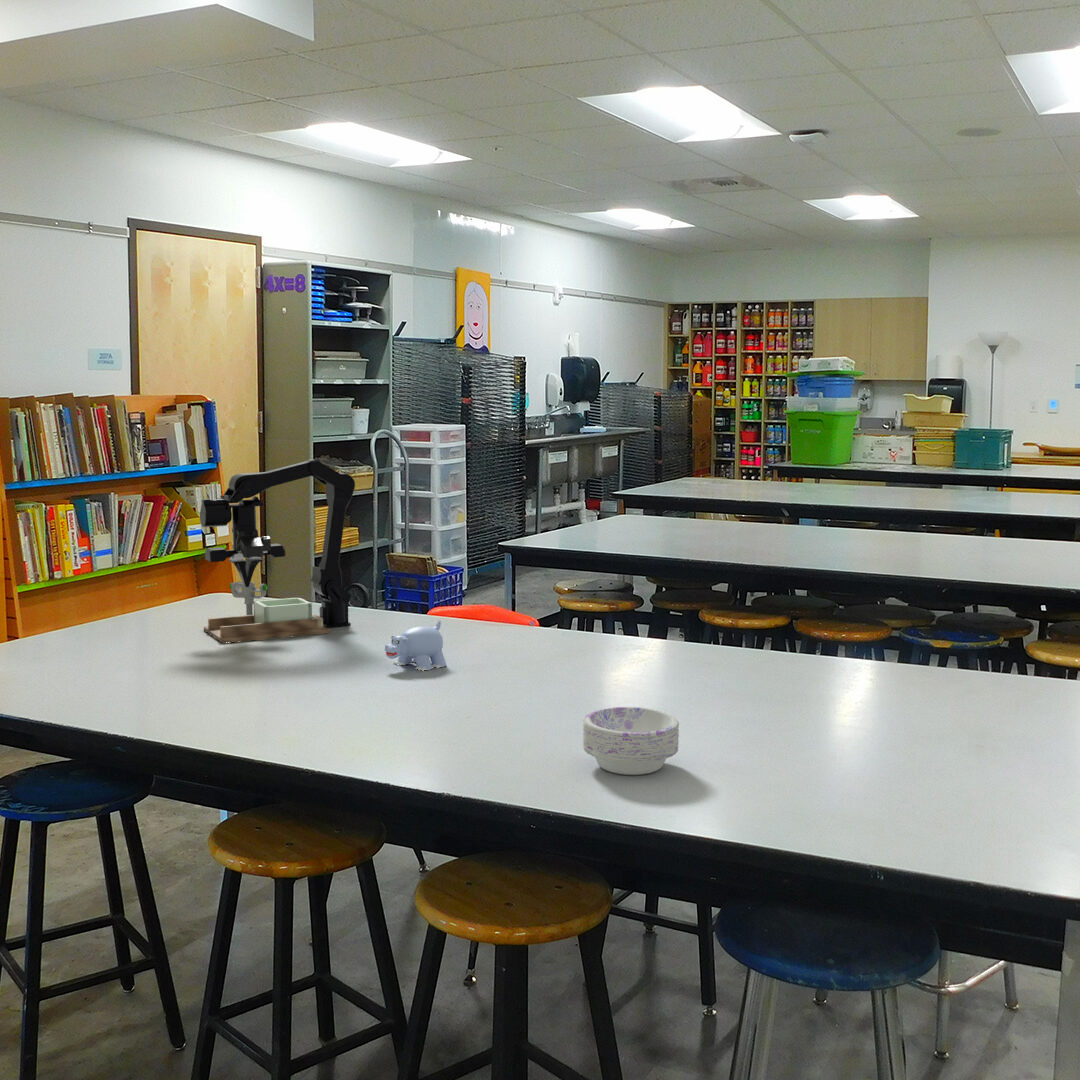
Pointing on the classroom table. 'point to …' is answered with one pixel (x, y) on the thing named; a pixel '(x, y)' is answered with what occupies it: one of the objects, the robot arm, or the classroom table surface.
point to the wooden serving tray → (261, 628)
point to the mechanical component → (248, 593)
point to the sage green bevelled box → (282, 610)
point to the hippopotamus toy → (418, 647)
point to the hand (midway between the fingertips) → (246, 586)
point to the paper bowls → (630, 739)
